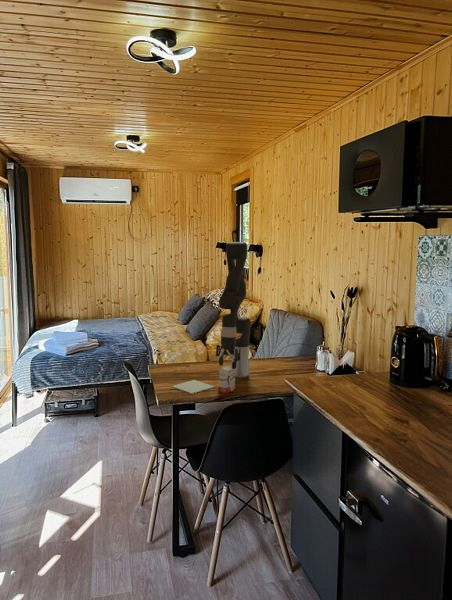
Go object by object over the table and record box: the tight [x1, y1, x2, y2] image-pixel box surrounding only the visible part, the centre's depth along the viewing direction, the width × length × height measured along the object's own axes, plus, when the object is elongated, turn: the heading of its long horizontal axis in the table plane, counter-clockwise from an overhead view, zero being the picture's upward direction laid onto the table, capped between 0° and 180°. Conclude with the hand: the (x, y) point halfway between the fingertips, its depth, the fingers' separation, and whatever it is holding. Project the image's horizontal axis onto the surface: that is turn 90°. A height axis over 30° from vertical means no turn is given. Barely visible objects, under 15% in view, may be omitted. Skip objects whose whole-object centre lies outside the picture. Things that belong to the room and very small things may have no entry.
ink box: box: [218, 365, 236, 394], centre depth 235 cm, size 9×5×12 cm, turn 148°
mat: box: [171, 379, 215, 395], centre depth 239 cm, size 16×15×1 cm
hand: (227, 367), depth 234 cm, fingers open, 8 cm apart
